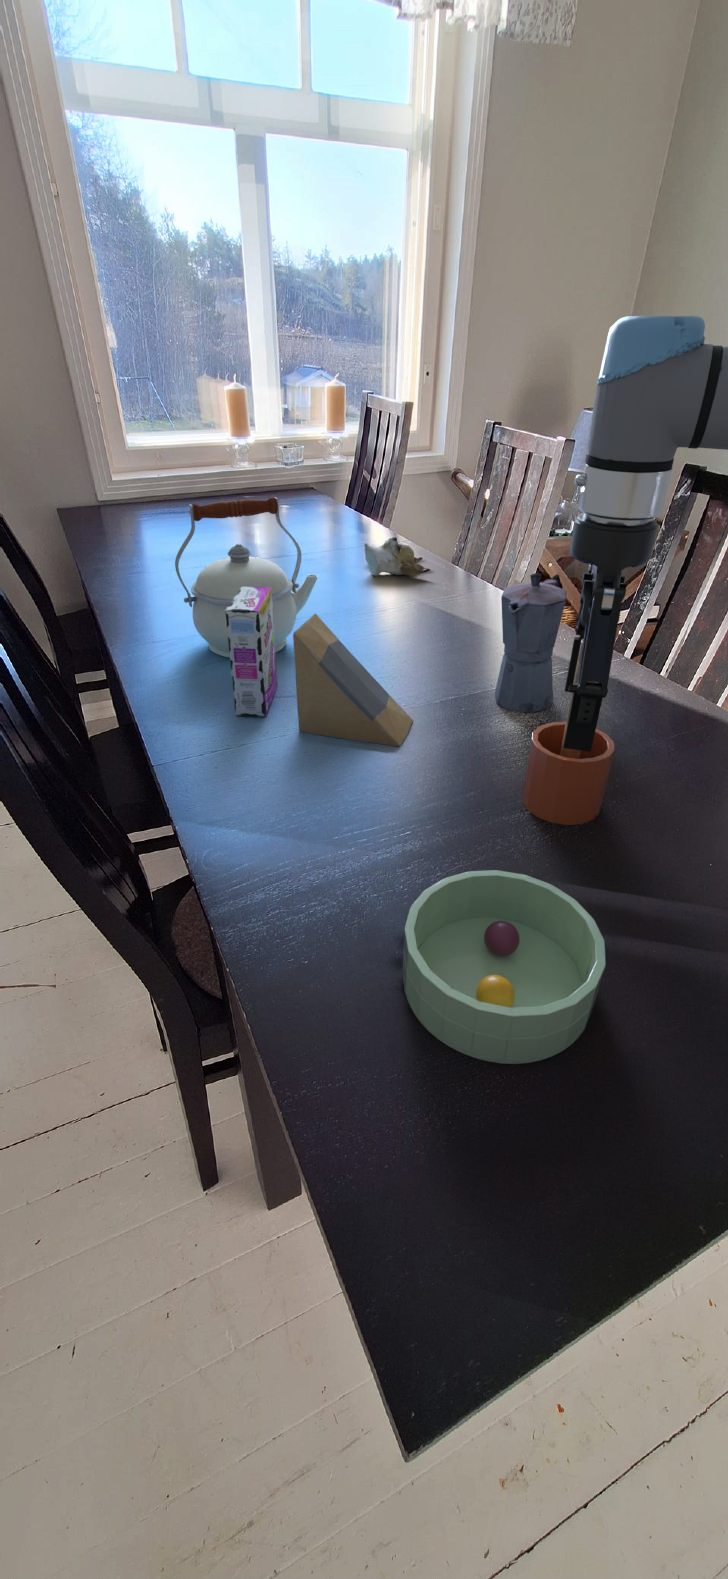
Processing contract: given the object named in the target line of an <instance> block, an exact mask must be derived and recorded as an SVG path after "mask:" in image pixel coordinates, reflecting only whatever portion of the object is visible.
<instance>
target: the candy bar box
mask: <svg viewBox="0 0 728 1579" xmlns="http://www.w3.org/2000/svg"><path fill="white" fill-rule="evenodd" d="M225 614H226V622H227V633H228V643H229V653H230V658H229V662H230V671H231V672H230V673H231V681H232V682H231V683H232V692H233V693H232V694H233V703H234V715H235V716H236V717H253V718H265V717H267V714H268V712H269V709H270V706H271V703H272V700H273V699H274V696H275V692H276V690H277V688H278V673H277V671H278V670H277V656H276V655H277V654H276V653H275V638H274V619H273V603H272V588H268V587H241V588H240V590H239V591H238V593H237V594H236V596H235V597H234V598H233V600H232V601H231V603H230V604H229V606H228V607H227V609H226V610H225Z"/></svg>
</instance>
